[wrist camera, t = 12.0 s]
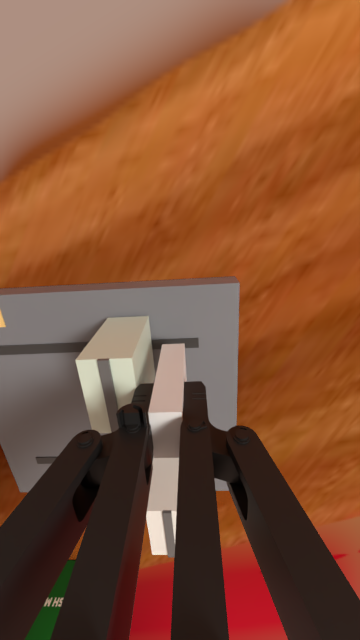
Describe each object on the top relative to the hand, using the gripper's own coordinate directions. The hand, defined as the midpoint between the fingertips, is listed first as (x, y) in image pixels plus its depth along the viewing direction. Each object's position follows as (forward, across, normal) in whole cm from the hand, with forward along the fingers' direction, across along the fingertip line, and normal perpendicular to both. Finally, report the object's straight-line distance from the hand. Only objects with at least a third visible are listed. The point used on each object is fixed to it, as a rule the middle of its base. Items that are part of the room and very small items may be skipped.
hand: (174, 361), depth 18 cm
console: (+5, -6, -6) cm, 10 cm away
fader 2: (+2, -1, -12) cm, 12 cm away
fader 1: (+2, -3, 0) cm, 4 cm away
